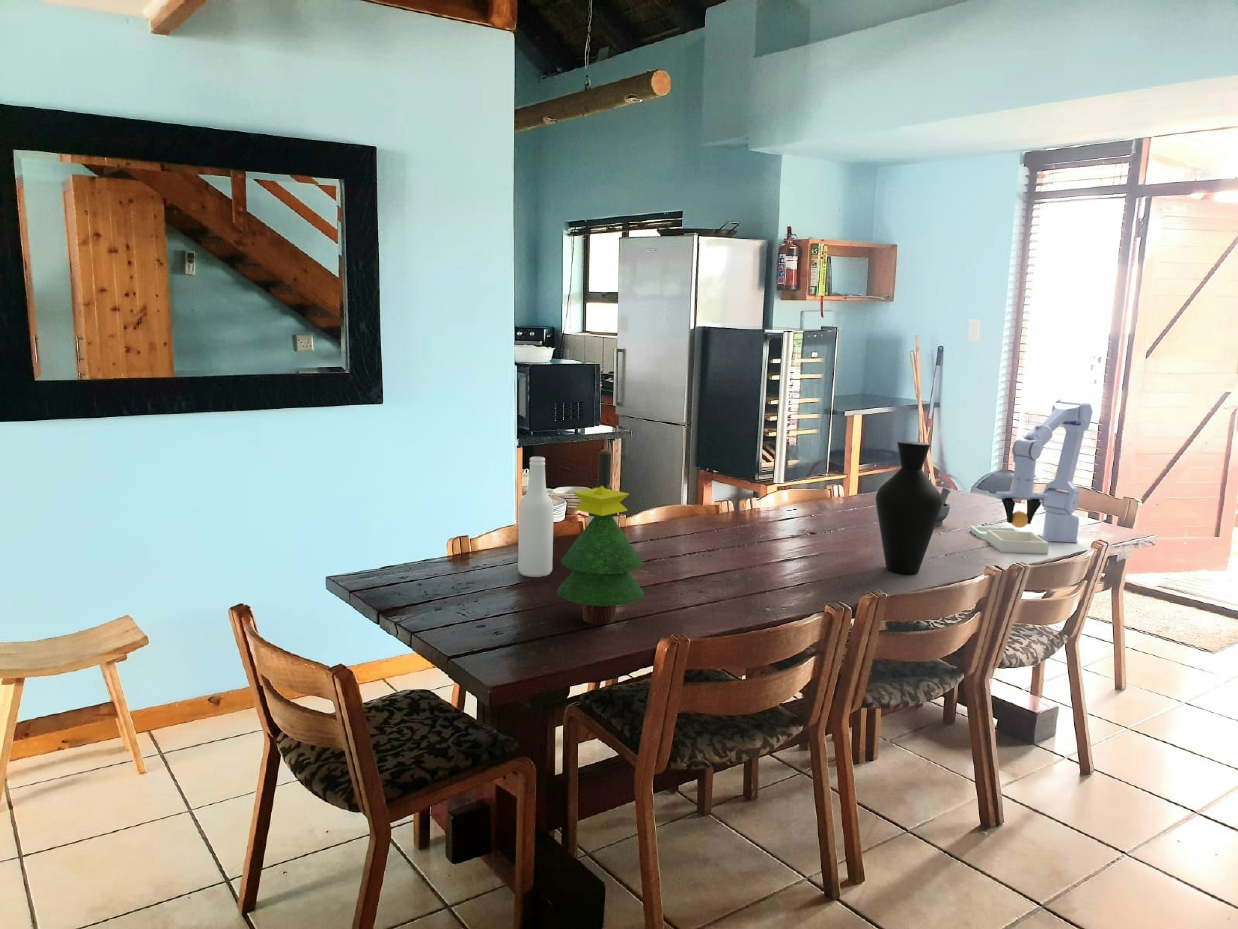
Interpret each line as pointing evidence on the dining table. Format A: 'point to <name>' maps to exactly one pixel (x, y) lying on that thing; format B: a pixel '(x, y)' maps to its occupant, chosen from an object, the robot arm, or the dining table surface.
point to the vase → (907, 511)
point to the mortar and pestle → (943, 507)
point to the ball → (1019, 519)
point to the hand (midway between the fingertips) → (1018, 522)
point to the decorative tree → (601, 560)
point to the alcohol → (536, 524)
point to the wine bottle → (604, 477)
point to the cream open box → (1017, 542)
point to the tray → (982, 531)
